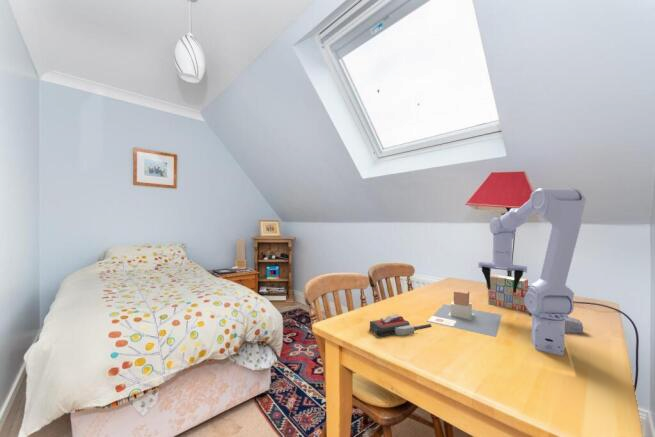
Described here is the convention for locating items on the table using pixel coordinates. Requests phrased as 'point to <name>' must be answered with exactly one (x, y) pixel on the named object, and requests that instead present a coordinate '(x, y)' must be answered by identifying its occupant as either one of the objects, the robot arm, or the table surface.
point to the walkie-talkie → (393, 326)
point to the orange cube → (461, 297)
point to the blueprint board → (468, 321)
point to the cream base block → (461, 310)
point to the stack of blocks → (507, 292)
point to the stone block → (573, 325)
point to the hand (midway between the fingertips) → (501, 290)
